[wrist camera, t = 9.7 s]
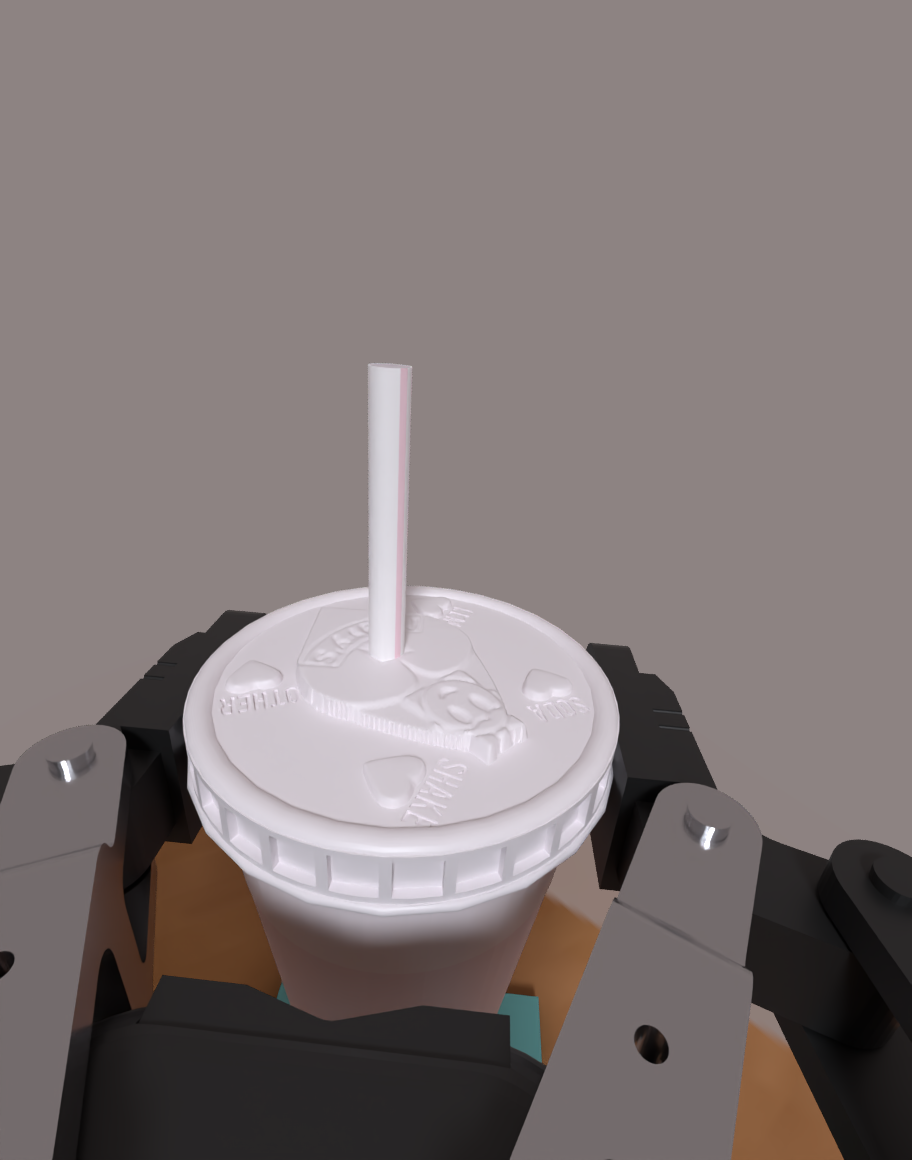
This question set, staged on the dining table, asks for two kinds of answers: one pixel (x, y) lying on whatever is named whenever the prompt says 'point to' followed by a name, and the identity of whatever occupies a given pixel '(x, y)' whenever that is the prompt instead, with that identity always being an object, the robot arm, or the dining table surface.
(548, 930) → the dining table surface
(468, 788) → the smoothie
